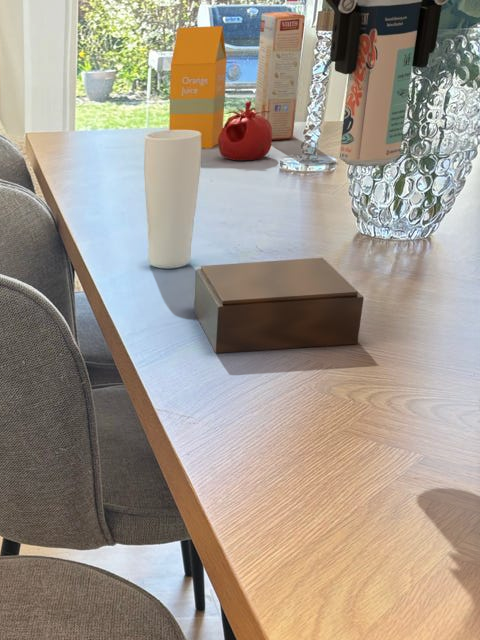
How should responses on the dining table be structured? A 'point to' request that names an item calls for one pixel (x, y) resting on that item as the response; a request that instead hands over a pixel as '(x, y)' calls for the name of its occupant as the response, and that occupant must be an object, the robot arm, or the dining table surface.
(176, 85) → the orange juice
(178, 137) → the drinking glass
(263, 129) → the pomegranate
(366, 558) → the dining table surface
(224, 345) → the walnut block
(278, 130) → the cracker box
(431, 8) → the robot arm
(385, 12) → the beer can
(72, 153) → the dining table surface
